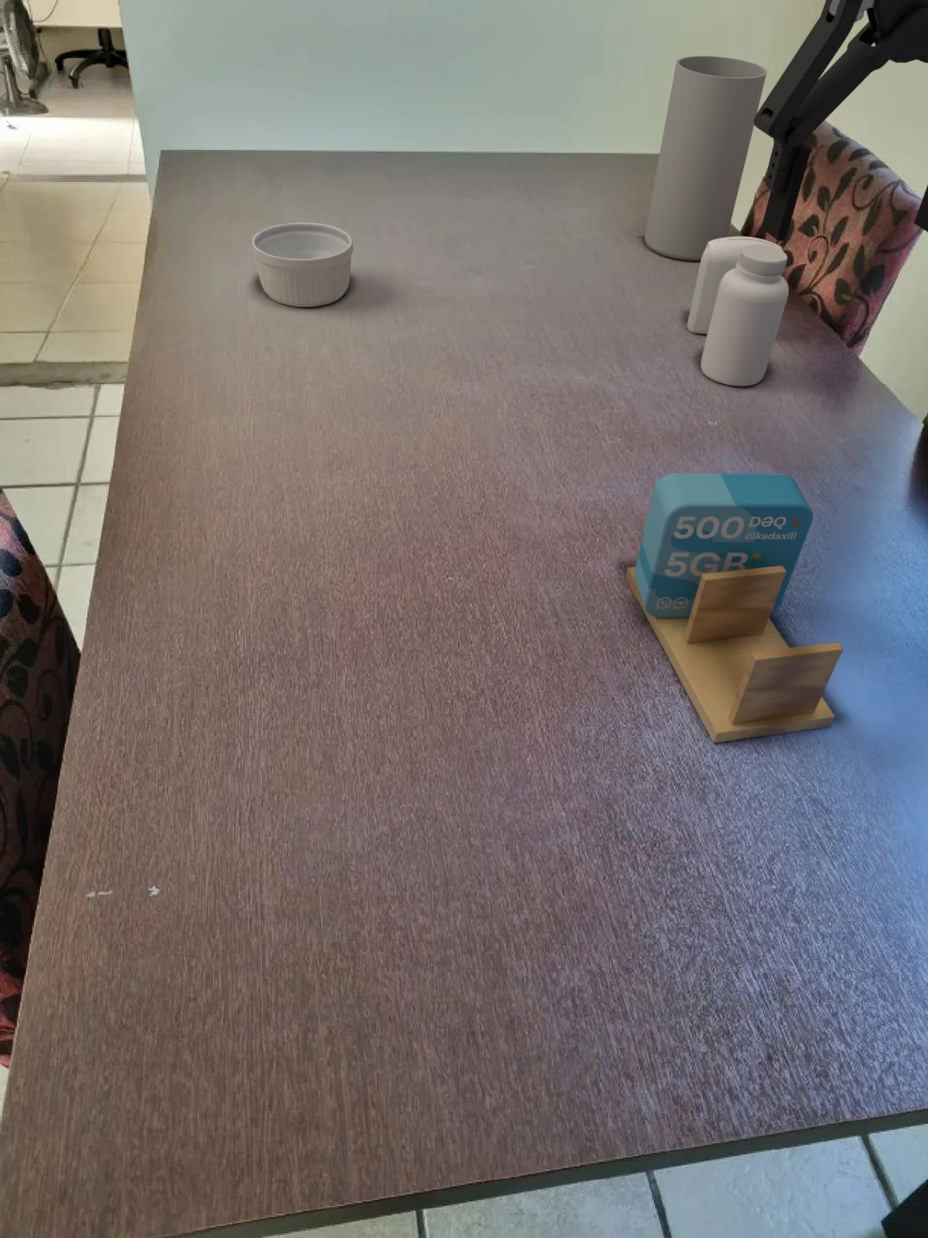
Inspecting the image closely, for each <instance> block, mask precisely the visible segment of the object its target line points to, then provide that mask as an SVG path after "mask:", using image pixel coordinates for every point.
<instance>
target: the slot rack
mask: <svg viewBox="0 0 928 1238" xmlns="http://www.w3.org/2000/svg"><path fill="white" fill-rule="evenodd" d="M635 569H636V566H632V567H631V566H630V567H627V569H626V574H625V579H626V581H627V583H628V586H629V587H630V589H631V590H632V593H633V594H634V596H635V598H636V600H637V602H638V604H639V605H640V607H641V609H642V611H643V613H644V615H645V617H646V619H647V621H648V622H649V624H650V626H651V628H652V630H653V632H654V634H655V636H656V637H657V639H658V641H659V644H660V645H661V647H662V649H663V651H664V653H665V655H666V656H667V658H668V660H669V662H670V664H671V666H672V667H673V669H674V671H675V673H676V676H677V677H678V679H679V681H680V683H681V685H682V686H683V688H684V690H685V692H686V694H687V696H688V698H689V699H690V702H691V703H692V705H693V707H694V709H695V711H696V713H697V714H698V717H699V719H700V721H701V722H702V724H703V726H704V727H705V730H706V732H707V734H708V735H709V737H710V740H711V741H712V743H713V744H716V743H718V744H719V743H724V742H732V741H738V739H739V740H744V739H752V738H759V737H764V736H765V737H766V736H772V735H773V736H774V735H780V734H786V733H794V732H801V731H808V730H814V729H821V728H829V727H831V726H832V724H833V722H834V720H835V718H836V716H835V714H834V712H833V711H832V709H831V708H830V707H829V705H828V703H827V701H826V700H825V699H824V698H823V695H824V692H825V690H826V688H827V686H828V684H829V681H830V679H831V676H832V675H833V673H834V671H835V669H836V666H837V664H838V661H839V659H840V657H841V654H842V652H843V651H844V648H843V647H842V645H841V644H840V643H839V641H836V642H835V641H834V642H827V643H818V644H810V645H805V646H804V645H803V646H795V647H789V645H788V644H787V643H786V640H785V639H784V638H783V636H782V635H781V633H780V632H779V630H778V629H777V627H776V626H775V624H774V623H773V622H772V620H771V619H770V616H771V614H772V613H771V612H772V609H773V606H774V603H775V601H776V598H777V595H778V593H779V590H780V587H781V585H782V582H783V579H784V576H785V574H786V570H785V569H784V567H783V566H773V567H764V568H754V569H745V570H735V571H726V572H716V573H707V574H702V577H701V580H700V583H699V587H698V590H697V594H696V597H695V600H694V604H693V607H692V611H691V614H690V617H670V618H660V617H654V616H651V615H650V614H648V613H647V612H646V610H645V608H644V605H643V602H642V599H641V595H640V592H639V589H638V586H637V583H636V579H635ZM807 729H808V730H807ZM793 731H794V732H793Z"/></svg>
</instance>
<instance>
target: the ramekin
mask: <svg viewBox="0 0 928 1238" xmlns="http://www.w3.org/2000/svg"><path fill="white" fill-rule="evenodd" d="M251 252H252V255H253V256H254V257H255V261H256V267H257V272H258V276H259V281H260V285H261V287H262V289H263V291H264V292H265V294H267V296H268V297H269V298H270V299H272V300H273V301H275V302H276V303H279V304H282V305H285V306H290V307H297V308H313V307H314V308H315V307H321V306H326V305H329V304H331V303H335V301H338V300H340V299H341V298H342V297H343V296H344V294H345V293H347V290H348V288H349V285H350V279H351V269H352V268H351V267H352V256H353V253H354V243H353V238H352V236H351V235H350V234H349V233H348V232H347V231H345V230H343V229H341V228H340V227H339V228H338V227H336V226H333V225H329V224H324V223H317V222H289V223H282V224H276V225H272V226H269V227H266V228H263V229H261V230H260V231H258V232H256V233H255V234H254V235H253V237H252V239H251Z"/></svg>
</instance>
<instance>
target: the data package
mask: <svg viewBox="0 0 928 1238" xmlns="http://www.w3.org/2000/svg"><path fill="white" fill-rule="evenodd" d="M813 520H814V512H813V510H812V508H811V506H810V504H809V503H808V501H807V499H806V498H805V496H804V494H803V492H802V490H801V489H800V487H799V485H798V483H797V482H796V480H795V479H794V478H793V477H792V476H791V475H788V474H785V473H736V472H735V473H733V472H732V473H727V472H725V473H724V472H723V473H722V472H715V473H714V472H674V473H673V472H672V473H669V474H667V475H665V476H663V477H662V478H660V479H659V480H658V482H656V484H655V485H654V488H653V490H652V495H651V500H650V504H649V509H648V513H647V516H646V522H645V525H644V531H643V534H642V539H641V543H640V548H639V552H638V557H637V560H636V565H635V567H636V569H635V579H636V583H637V586H638V589H639V592H640V595H641V599H642V602H643V605H644V608H645V610H646V612H647V613H648V614H650V615H651V616H654V617H660V618H670V617H690V614H691V611H692V607H693V604H694V600H695V597H696V594H697V590H698V587H699V583H700V580H701V577H702V574H707V573H716V572H726V571H735V570H745V569H754V568H764V567H773V566H783V567H784V569H785V570H786V574H785V576H784V579H783V582H782V585H781V587H780V590H779V593H778V595H777V598H776V601H775V603H774V606H773V609H772V612H771V614H773V613H774V612H776V611H777V610H778V609H779V608H780V606H781V605H782V602H783V600H784V597H785V594H786V591H787V590H788V586H789V584H790V581H791V579H792V576H793V573H794V570H795V568H796V565H797V563H798V560H799V557H800V555H801V552H802V549H803V547H804V544H805V541H806V539H807V536H808V534H809V531H810V529H811V526H812V523H813Z"/></svg>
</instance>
